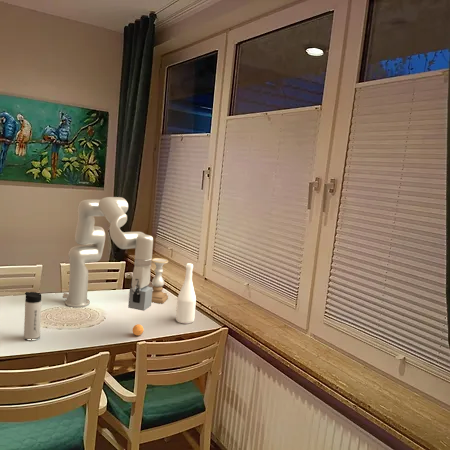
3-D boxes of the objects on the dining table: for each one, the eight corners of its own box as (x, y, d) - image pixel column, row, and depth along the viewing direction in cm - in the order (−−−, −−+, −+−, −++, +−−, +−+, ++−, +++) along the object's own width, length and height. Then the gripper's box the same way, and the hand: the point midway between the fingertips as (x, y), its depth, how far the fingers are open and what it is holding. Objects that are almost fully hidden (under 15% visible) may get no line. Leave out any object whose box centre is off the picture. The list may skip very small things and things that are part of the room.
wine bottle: (186, 316, 230) (191, 261, 226) (197, 322, 223) (203, 265, 219) (171, 319, 223) (176, 262, 219) (183, 325, 217) (188, 267, 213)
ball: (130, 325, 197) (140, 327, 195) (135, 322, 201) (145, 323, 200) (130, 336, 197) (140, 338, 196) (135, 332, 202) (145, 334, 201)
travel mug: (26, 334, 188) (27, 290, 185) (41, 335, 188) (43, 291, 186) (20, 340, 182) (22, 294, 179) (36, 341, 182) (38, 295, 180)
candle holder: (150, 296, 259) (153, 256, 255) (168, 298, 257) (171, 259, 254) (144, 301, 248) (147, 260, 245) (163, 303, 246) (166, 263, 243)
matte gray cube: (128, 307, 195) (129, 288, 194) (135, 302, 202) (137, 284, 201) (143, 310, 193) (145, 291, 192) (151, 305, 200) (152, 287, 199)
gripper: (143, 257, 204) (140, 293, 206) (126, 264, 187) (123, 303, 190) (158, 259, 202) (155, 296, 205) (142, 267, 186) (139, 306, 188)
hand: (140, 299), depth 197 cm, fingers closed on matte gray cube, 7 cm apart
